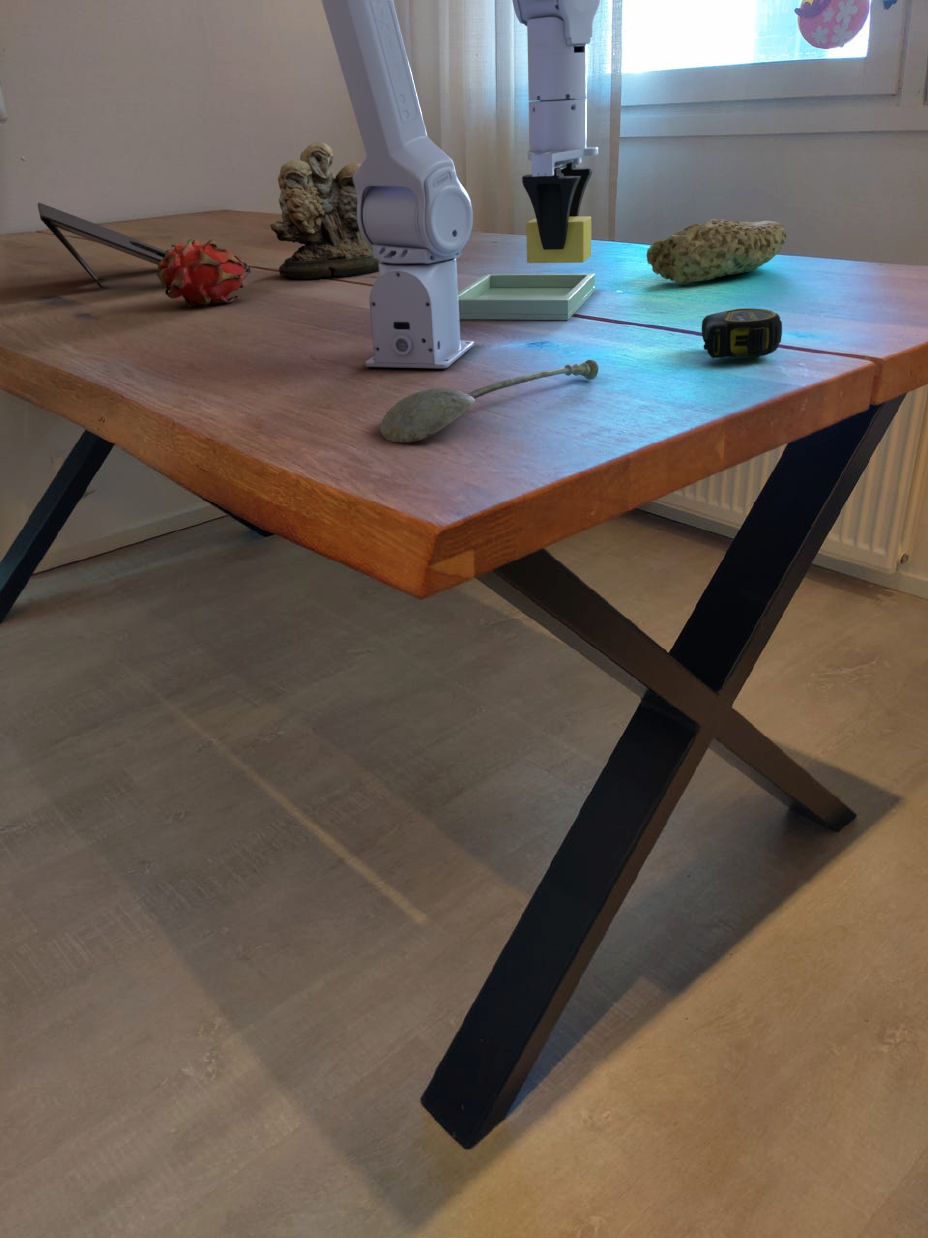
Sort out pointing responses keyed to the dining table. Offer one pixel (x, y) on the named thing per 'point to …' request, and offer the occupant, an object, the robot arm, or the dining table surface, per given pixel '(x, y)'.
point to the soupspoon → (453, 405)
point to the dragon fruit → (201, 273)
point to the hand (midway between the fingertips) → (558, 245)
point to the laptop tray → (95, 237)
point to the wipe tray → (525, 296)
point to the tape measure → (742, 333)
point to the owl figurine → (321, 218)
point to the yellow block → (575, 244)
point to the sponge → (716, 249)
